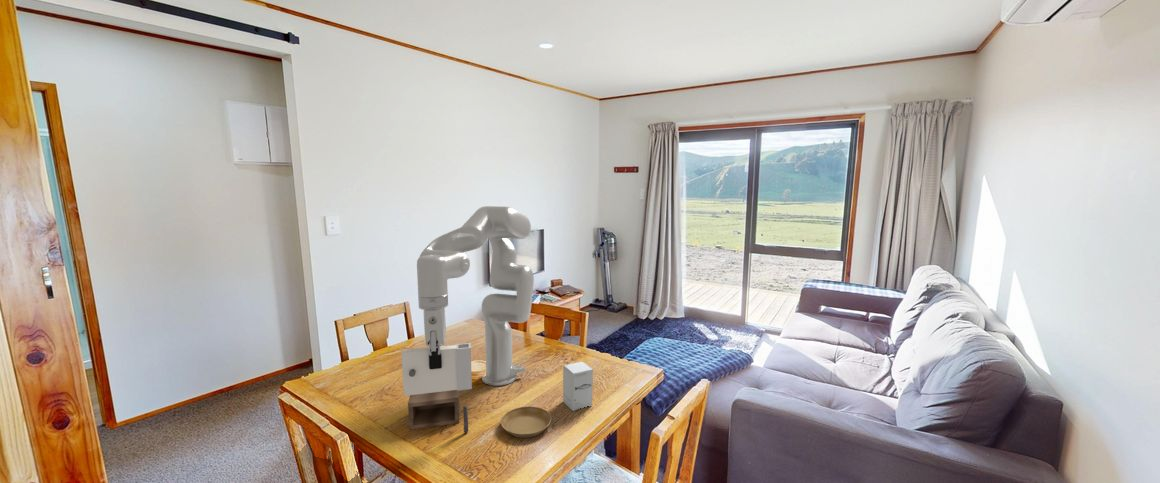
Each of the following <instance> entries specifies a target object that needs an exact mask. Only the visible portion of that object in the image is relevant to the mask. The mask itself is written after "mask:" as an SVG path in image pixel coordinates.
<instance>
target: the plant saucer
mask: <svg viewBox="0 0 1160 483" xmlns="http://www.w3.org/2000/svg"><path fill="white" fill-rule="evenodd" d="M551 422H552V415H551V413H550V412H549V411H548V410H546V409H544V408H541V407H538V406H519V407H517V408H513V409H511V410H509V411H507V412H506V413H504V415H503V416H502V417H501V419H500V424H501V425H500V426H501V428H503V429H504V431H506V432H507V433H508V434H510V435H511V436H514V437H516V438H517V437H518V438H526V439H527V438H531V437H536V436H538V435H541V434H542V433H543V432H544V431H545V430H547V428H548V427H549V426H550V424H551Z"/></svg>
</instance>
